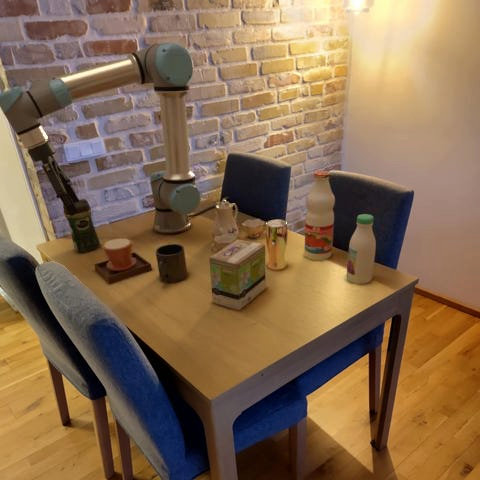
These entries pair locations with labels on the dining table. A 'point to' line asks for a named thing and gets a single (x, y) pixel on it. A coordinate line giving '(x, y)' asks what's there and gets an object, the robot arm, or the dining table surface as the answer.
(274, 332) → the dining table surface
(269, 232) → the beer glass
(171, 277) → the mug
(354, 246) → the milk bottle
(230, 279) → the tea box
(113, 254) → the filter
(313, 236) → the fruit juice
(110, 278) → the tray
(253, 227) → the chinaware
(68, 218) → the coffee jar
